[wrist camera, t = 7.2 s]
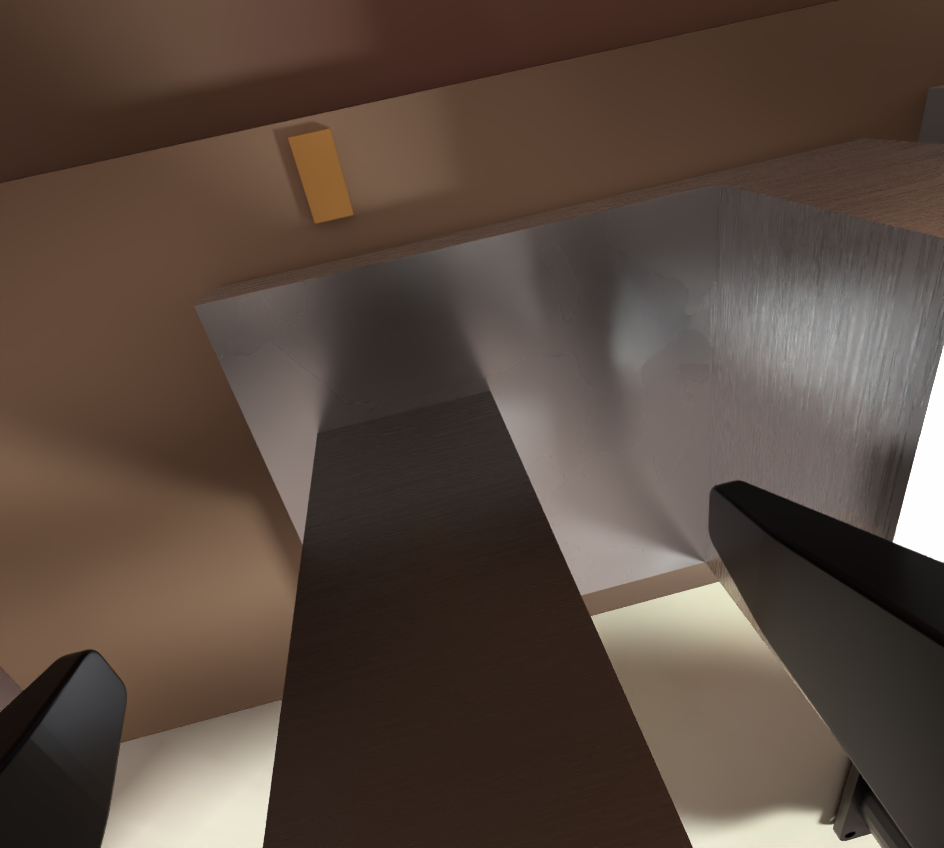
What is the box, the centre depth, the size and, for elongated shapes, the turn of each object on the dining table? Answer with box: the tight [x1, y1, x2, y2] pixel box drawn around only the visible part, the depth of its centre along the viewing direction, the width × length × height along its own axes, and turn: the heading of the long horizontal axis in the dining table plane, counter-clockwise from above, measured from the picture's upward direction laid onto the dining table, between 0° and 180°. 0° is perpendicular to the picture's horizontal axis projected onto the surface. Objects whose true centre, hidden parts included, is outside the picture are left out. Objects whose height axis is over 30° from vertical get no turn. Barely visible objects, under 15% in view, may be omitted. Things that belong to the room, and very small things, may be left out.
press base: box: [0, 0, 944, 743], centre depth 10 cm, size 12×24×6 cm, turn 100°
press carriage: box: [194, 138, 944, 848], centre depth 8 cm, size 8×11×8 cm
